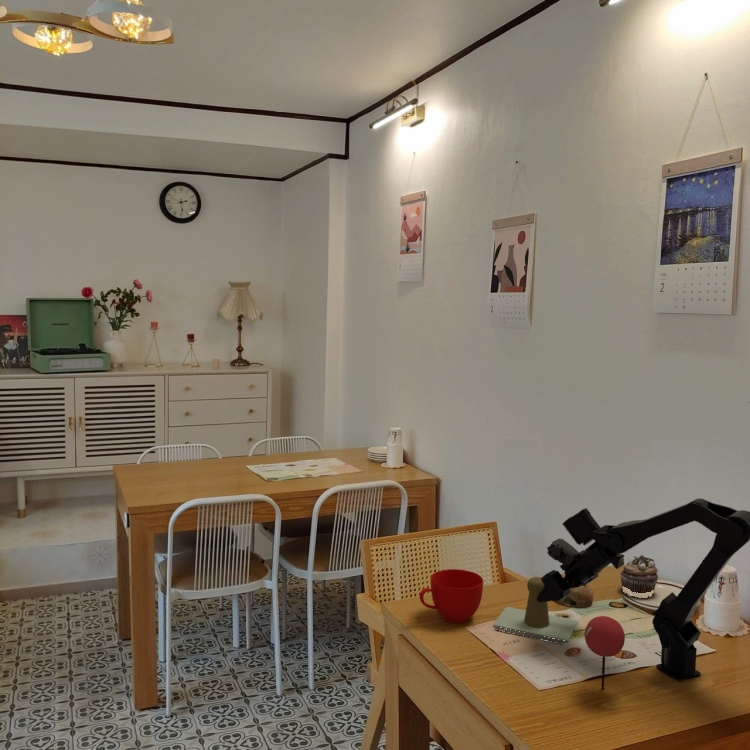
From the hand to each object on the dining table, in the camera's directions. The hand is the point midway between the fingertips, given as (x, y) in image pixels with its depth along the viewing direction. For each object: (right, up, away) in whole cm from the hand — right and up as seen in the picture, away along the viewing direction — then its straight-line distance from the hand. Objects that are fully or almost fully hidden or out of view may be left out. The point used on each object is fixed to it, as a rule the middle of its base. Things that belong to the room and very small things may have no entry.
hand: (547, 594), depth 180 cm
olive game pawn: (-2, -8, +2) cm, 8 cm away
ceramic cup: (-23, -8, +5) cm, 25 cm away
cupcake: (+30, -7, +24) cm, 39 cm away
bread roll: (+11, -7, +18) cm, 22 cm away
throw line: (-5, -9, -4) cm, 11 cm away
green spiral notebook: (-2, -8, +3) cm, 9 cm away
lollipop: (+5, -11, -27) cm, 30 cm away
